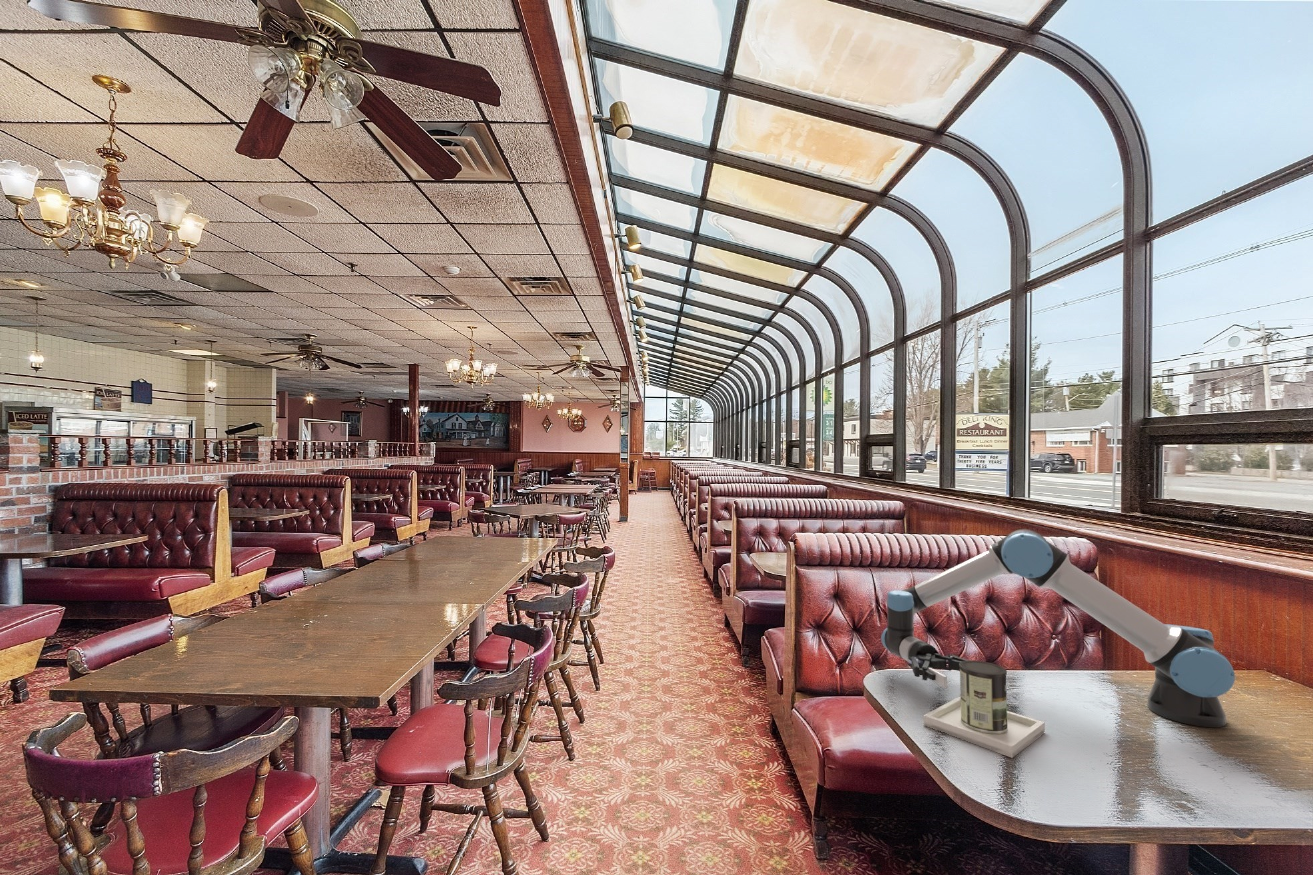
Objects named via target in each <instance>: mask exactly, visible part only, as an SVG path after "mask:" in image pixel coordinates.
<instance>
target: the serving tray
mask: <svg viewBox="0 0 1313 875" xmlns="http://www.w3.org/2000/svg"><path fill="white" fill-rule="evenodd" d="M924 725H925V726H924ZM923 726H924V727H926V726H928V727H927V728H929V727H930V729H932V728H933V729H932V730H934V729H935V731H937V730H939V731H938V732H940V731H941V732H940V733H943V732H945V733H947V734H946V735H948V734H950V735H949V736H951V735H952V736H951V737H954V736H955V737H954V738H956V737H957V739H959V738H961V739H960V740H962V739H963V740H962V741H964V740H966V741H965V742H967V741H968V743H970V742H971V744H973V745H975V744H976V746H978V747H982V748H984V749H986V750H988V751H989V750H990V751H992V752H995V753H998V754H1000V755H1003V756H1007V758H1008V757H1009V758H1011V759H1013V758H1014V757H1016V756H1017V755H1019V753H1021V752H1022V751H1024V750H1025V749H1026V748H1027V747H1029V746H1030V745H1032V743H1034V742H1035V741H1036V740H1037V739H1039V738H1041V735H1042V734H1043V735H1045V733H1044V732H1046V727H1045V726H1046V724H1045V722H1044V721H1040V720H1038V719H1035V718H1032V717H1028V716H1026V715H1025V716H1024V715H1021V714H1019V713H1015V712H1014V711H1009V710H1007V727H1008V731H1007V732H1006V733H1002V734H989V733H983V732H979V731H976V730H973V729H970V728H968V727H967V726H965V725H964V724H963V723H962V722H961V696H960V695H959V696H958V697H956V698H954V699H952V700H950V701H948V702H946V703H945V704H943V705H941V706H939V707H937V708H935V709H933V710H930V711H929V712H927V713H926V714H923ZM945 733H944V734H945Z"/></svg>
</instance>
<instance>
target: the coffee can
mask: <svg viewBox="0 0 1313 875" xmlns="http://www.w3.org/2000/svg"><path fill="white" fill-rule="evenodd" d="M968 660H969V659H968ZM959 667H960V671H959V684H960V685H959V686H960V695H959V696H961V722H962V723H963V724H964V725H965V726H967V727H968V728H970V729H973V730H976V731H979V732H983V733H989V734H1002V733H1006V732H1007V731H1008V727H1007V711H1008V702H1007V701H1008V700H1007V698H1008V695H1007V692H1008V691H1007V690H1008V689H1007V673H1008V671H1007V669H1005V667H1003V666H1001V665H998V664H995V663H992V662H988V661H981V660H974V659H973V660H972V659H971V660H969V661H962V662H960V663H959Z"/></svg>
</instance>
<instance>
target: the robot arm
mask: <svg viewBox="0 0 1313 875" xmlns="http://www.w3.org/2000/svg"><path fill="white" fill-rule="evenodd" d="M1002 574H1008V575H1011V574H1015V575H1018V576H1019V577H1023V578H1024V579H1026V580H1028V581H1029V582H1031V583H1032V584H1034V585H1035V586H1037V587H1038V588H1041V589H1043V588H1049V589H1051V590H1053V591H1054V592H1055V593H1056V594H1058V595H1059V596H1061V597H1062V598H1064V599H1066V600H1067V601H1068V602H1070V603H1071V604H1073V605H1074V606H1076V607H1077V608H1079V609H1080V610H1082V611H1083V612H1085V613H1086V614H1087V615H1089V616H1090V617H1092V618H1093V619H1095V620H1096V621H1098V622H1099V623H1101V625H1104V626H1106V627H1107V628H1108V629H1109V630H1111V631H1112V632H1114V633H1115V634H1117V635H1119V636H1120V637H1121V638H1123V639H1124V640H1126V641H1127V642H1129V643H1130V644H1131V645H1133V646H1134V647H1136V648H1137V649H1139V650H1140V651H1142V652H1143V654H1144V658H1145V661H1146V662H1147V663H1149V664H1150V665H1152V666H1153V667H1154V674H1155V675H1154V676H1155V679H1154V682H1153V685H1152V686H1151V690H1150V692H1149V693H1148V694H1149V695H1148V696H1147V708H1148V709H1149V711H1151V712H1152V713H1154V714H1156V715H1158V716H1161V717H1163V718H1166V719H1168V720H1171V721H1175V722H1179V723H1182V724H1187V725H1191V726H1197V727H1203V728H1222V726H1223V727H1225V726H1226V725H1227V719H1226V718H1227V717H1226V712H1225V710H1224V708H1223V706H1222V703H1221V701H1220V699H1219V697H1220V696H1224V695H1225V694H1227V693H1228V692H1229V691H1231V689H1232V688H1233V686H1234V684H1235V682H1236V674H1235V670H1234V668H1233V666H1232V663H1231V662H1230V661H1229V659H1228V658H1227V657H1226V656H1225V655H1223V654H1222V653H1220V652H1219V651H1218V650H1217V649H1216V648H1215V647H1214V643H1215V639H1214V637H1213V636H1214V635H1213V633H1212V632H1211V631H1210V630H1208V629H1203V628H1197V627H1193V626H1185V625H1176V624H1169V623H1168V624H1165V623H1163V622H1161V621H1160V620H1159V619H1157V618H1156V617H1154V616H1152V615H1151V614H1149V613H1148V612H1146V611H1144V610H1143V609H1142V608H1140V607H1138V606H1137V605H1135V604H1134V603H1132V602H1130V601H1129V600H1128V599H1126V598H1124V597H1123V596H1122V595H1120V594H1119V593H1117V592H1115V591H1114V590H1112V589H1111V588H1110V587H1108V586H1106V585H1105V584H1104V583H1101V582H1100V581H1099V580H1097V579H1095V578H1094V577H1093V576H1091V575H1089V574H1088V573H1086V572H1085V571H1084V570H1081V569H1080V568H1079V567H1077V566H1076V565H1074V564H1072V563H1071V560H1070V556H1069V554H1067V553H1066V552H1065V551H1063V550H1061V549H1060V548H1058V547H1057V546H1055V545H1054V544H1052V543H1050V542H1049V541H1047V539H1046V538H1045V537H1044V536H1043V535H1042V534H1041V533H1039V532H1037V531H1034V530H1031V529H1025V528H1024V529H1023V528H1022V529H1017V530H1013V531H1012V532H1011V533H1009V534H1007V535H1006V536H1005V537H1003V538H1002V539H999V541H997V542H993V544H991V545H989V548H988V550H987V551H984V552H981V553H980V554H977V555H976V556H974V557H971V558H969V559H968V560H965V561H963V562H961V563H959V564H957V565H955V566H953V567H950V568H948V569H947V570H944V571H943V572H940V573H938V574H935V575H933V576H932V577H929V578H927V579H926V580H923V581H921V582H919V583H917V584H915V585H913V586H911V587H908V588H904V589H902V590H890V591H889V592H888V593H887V598H886V612H887V613H886V616H887V622H886V623H887V625H886V628H885V629H883V631H882V633H881V636H880V642H881V643H882V646H883V647H884V648H885V649H886V650H888V651H889V653H891V654H892V655H894V656H897V657H899V658H901V659H903V660H904V661H906V662H907V663H908V666H909V667H911V670H912V673H913V676H914V677H916V678H919V677H921V676H922V678H921V680H922V681H928V679H929V680H930V681H932V682H933V683H935V684H937V685H938V686H941V687H942V688H946V689H947V688H948V680H947V676H946V675H945V674H943V673H941V672H939V671H938V670H946V671H949V672H951V671H952V670H953V671H957V672H960V667H959V663H960V662H962V661H969V659H966V658H962V657H960V656H957V655H954V654H951V653H950V654H948V656H946V655H943V654H941V653H939V652H938V650H937V648H936V647H934V646H933V645H932V644H930V643H928V642H926V641H924V640H922V639H920V638H917V636H915V635H914V629H915V628H914V620H915V619H914V616H915V615H916V613H919V612H922V611H923V610H926V609H927V608H929V607H931V606H933V605H935V604H938V603H940V602H942V601H944V600H947V599H949V598H951V597H953V596H956V595H958V594H960V593H962V592H964V591H967V590H968V589H971V588H973V587H975V586H977V585H981V584H982V583H985V582H986V581H988V580H991V579H993V578H995V577H998V576H1000V575H1002ZM947 663H948V665H947ZM936 669H937V670H936Z"/></svg>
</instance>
